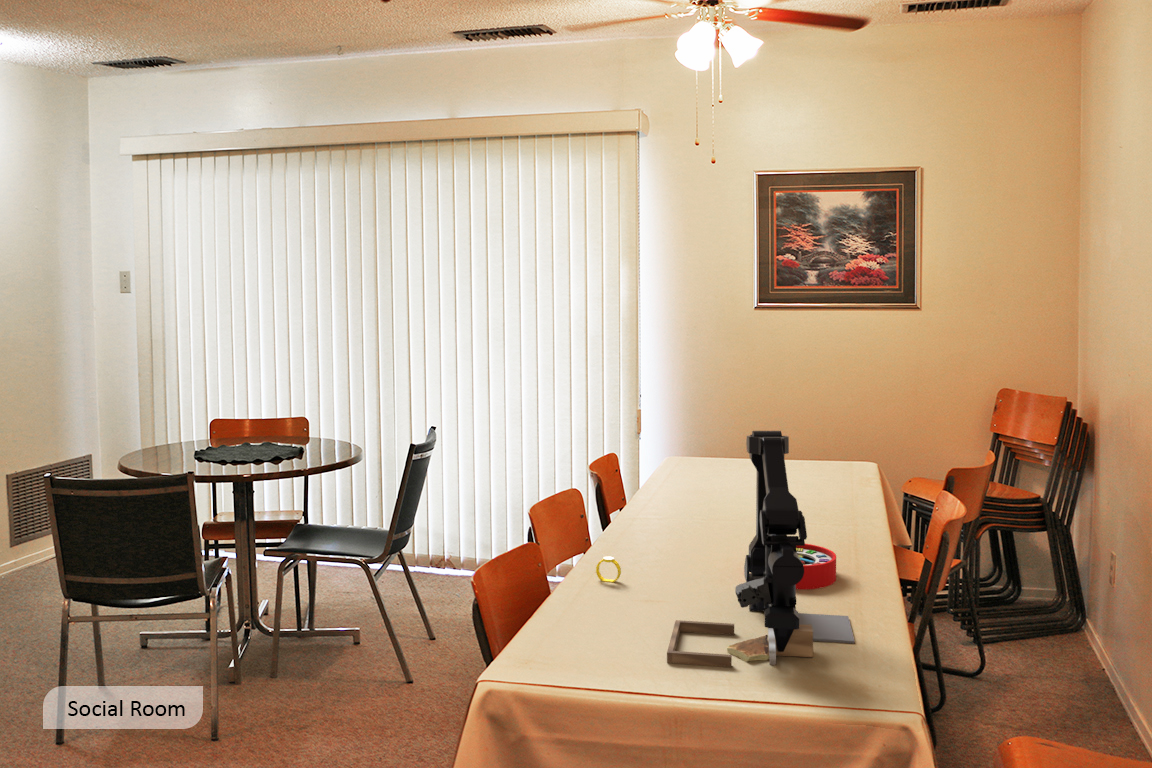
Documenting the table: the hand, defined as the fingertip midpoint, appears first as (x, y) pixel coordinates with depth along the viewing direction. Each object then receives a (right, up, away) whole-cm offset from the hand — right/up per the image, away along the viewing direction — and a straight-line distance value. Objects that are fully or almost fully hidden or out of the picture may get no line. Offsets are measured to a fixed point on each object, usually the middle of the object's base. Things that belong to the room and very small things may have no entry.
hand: (780, 647), depth 174 cm
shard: (-6, -2, +1) cm, 6 cm away
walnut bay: (-15, -1, +3) cm, 15 cm away
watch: (-32, +3, +44) cm, 55 cm away
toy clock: (+14, +3, +46) cm, 48 cm away
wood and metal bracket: (+2, -1, 0) cm, 3 cm away
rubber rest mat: (+12, 0, +12) cm, 17 cm away
